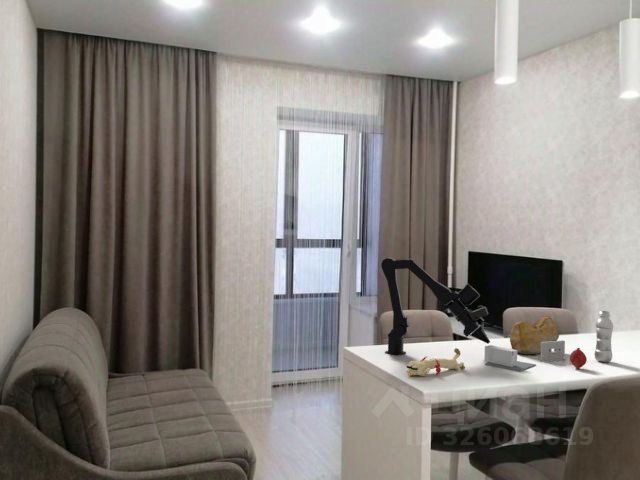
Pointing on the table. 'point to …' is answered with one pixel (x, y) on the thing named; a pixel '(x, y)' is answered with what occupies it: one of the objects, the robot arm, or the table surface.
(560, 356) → the cassette
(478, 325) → the robot arm
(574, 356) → the onion
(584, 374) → the table surface
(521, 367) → the felt mat
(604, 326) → the plastic bottle
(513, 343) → the rough brown rock
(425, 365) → the cat figure
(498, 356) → the skincare box
